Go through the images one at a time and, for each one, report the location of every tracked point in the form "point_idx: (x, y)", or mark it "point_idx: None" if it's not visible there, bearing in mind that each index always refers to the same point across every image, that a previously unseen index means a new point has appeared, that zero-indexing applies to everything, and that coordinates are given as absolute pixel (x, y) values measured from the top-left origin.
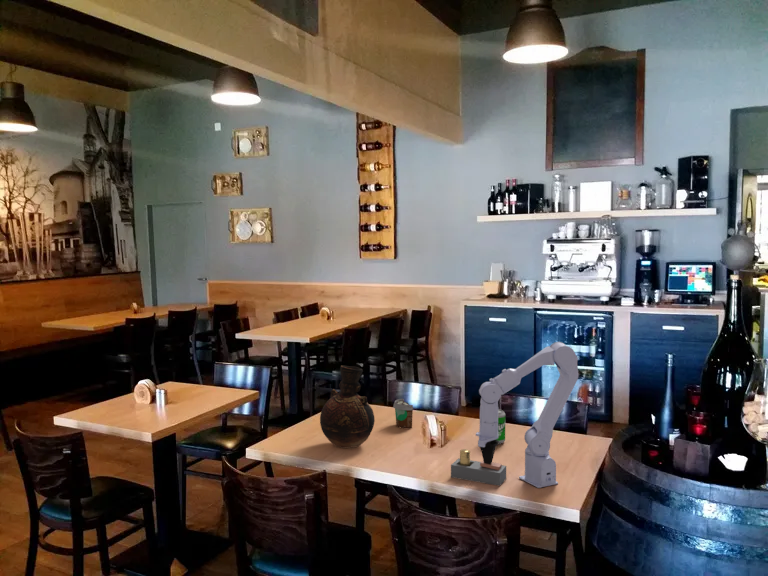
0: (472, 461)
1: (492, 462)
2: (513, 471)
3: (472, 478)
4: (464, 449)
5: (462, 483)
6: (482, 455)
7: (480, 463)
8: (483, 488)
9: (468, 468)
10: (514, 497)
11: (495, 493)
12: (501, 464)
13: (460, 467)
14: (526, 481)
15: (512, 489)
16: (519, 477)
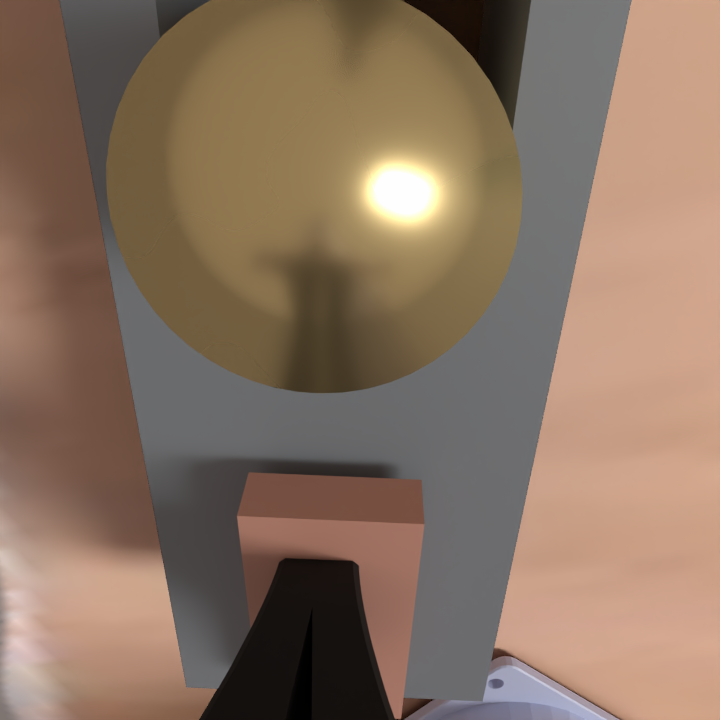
0: (520, 255)
1: (395, 637)
2: (705, 586)
3: None
4: (501, 133)
5: (25, 172)
6: (227, 678)
7: (240, 509)
8: (54, 443)
9: (120, 283)
10: (47, 676)
11: (16, 557)
12: None
13: (91, 102)
14: (419, 712)
15: None
16: (492, 668)
